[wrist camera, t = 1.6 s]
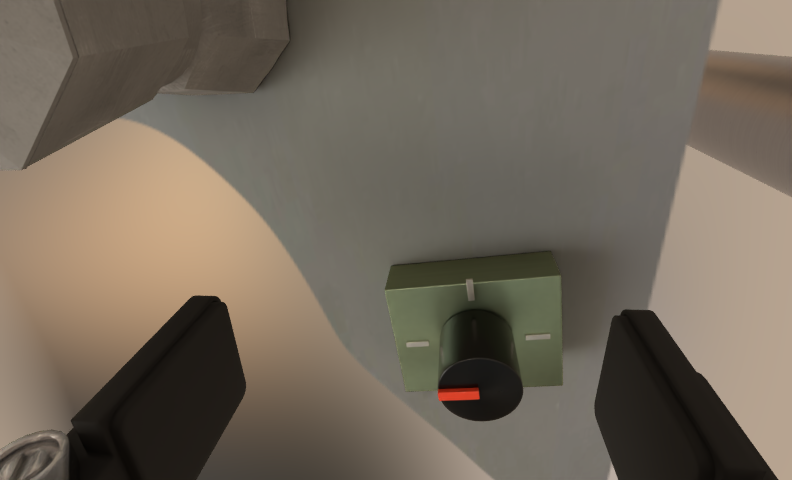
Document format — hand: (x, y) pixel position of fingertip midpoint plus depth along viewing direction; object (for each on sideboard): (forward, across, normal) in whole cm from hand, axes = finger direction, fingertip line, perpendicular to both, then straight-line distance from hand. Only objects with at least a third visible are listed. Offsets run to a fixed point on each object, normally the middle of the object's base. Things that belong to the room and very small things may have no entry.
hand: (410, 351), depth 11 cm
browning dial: (+13, -3, +10) cm, 17 cm away
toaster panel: (+16, -3, +10) cm, 19 cm away
